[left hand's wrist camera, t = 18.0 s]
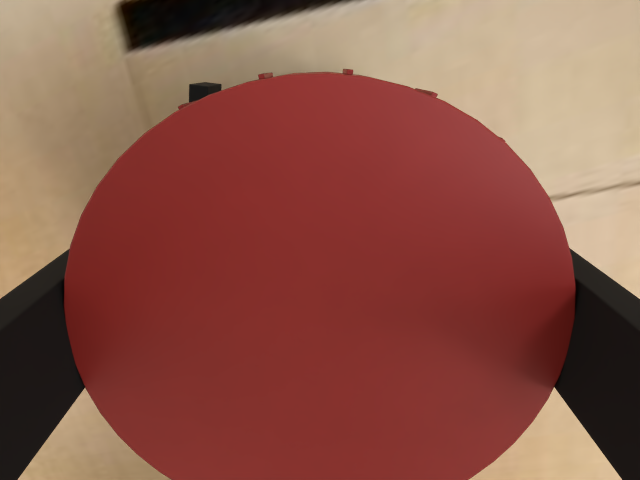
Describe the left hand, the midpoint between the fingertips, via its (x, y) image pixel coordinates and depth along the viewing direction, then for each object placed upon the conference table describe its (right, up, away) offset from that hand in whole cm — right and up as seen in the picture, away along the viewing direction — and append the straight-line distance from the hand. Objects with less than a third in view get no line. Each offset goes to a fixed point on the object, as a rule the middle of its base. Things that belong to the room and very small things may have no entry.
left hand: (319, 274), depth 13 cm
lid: (0, -1, -3) cm, 3 cm away
